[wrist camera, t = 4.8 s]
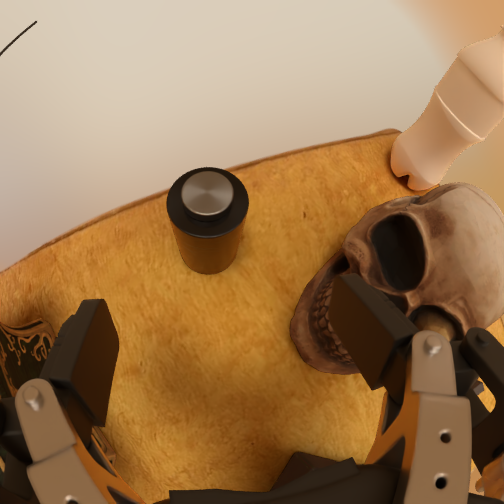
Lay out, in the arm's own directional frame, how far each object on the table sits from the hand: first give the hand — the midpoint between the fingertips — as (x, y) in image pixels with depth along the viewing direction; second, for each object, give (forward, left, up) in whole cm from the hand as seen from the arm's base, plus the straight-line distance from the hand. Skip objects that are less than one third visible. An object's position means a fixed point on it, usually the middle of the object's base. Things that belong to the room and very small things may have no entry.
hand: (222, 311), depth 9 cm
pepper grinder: (-6, +2, -11) cm, 13 cm away
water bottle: (-5, +27, -11) cm, 30 cm away
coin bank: (+5, +14, -11) cm, 19 cm away
